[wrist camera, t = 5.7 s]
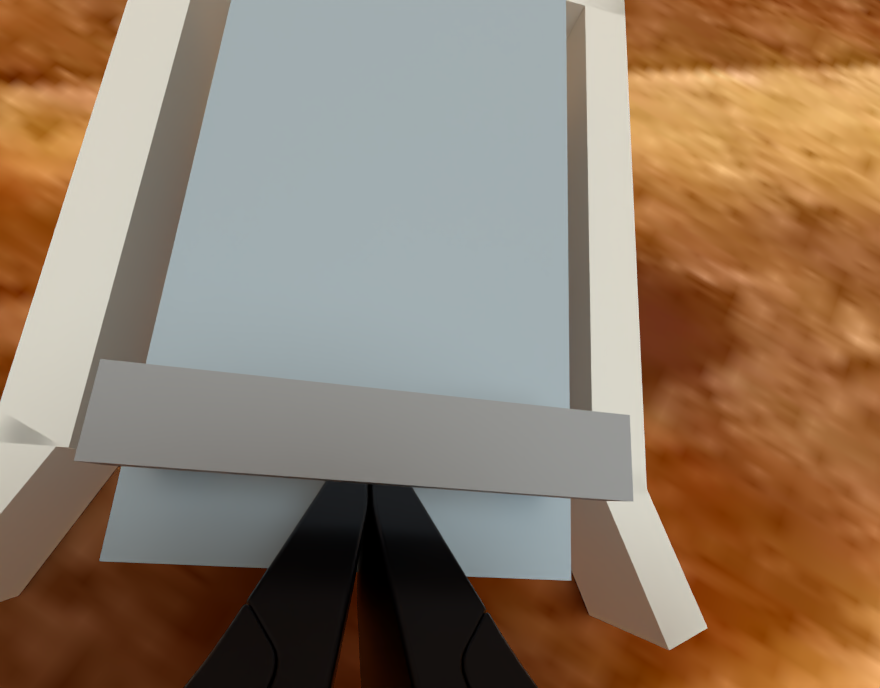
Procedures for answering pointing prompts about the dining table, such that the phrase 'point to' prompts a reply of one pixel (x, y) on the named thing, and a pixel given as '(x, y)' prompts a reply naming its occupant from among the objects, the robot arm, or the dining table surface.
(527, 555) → the box with loop handle
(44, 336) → the bay
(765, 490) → the dining table surface
